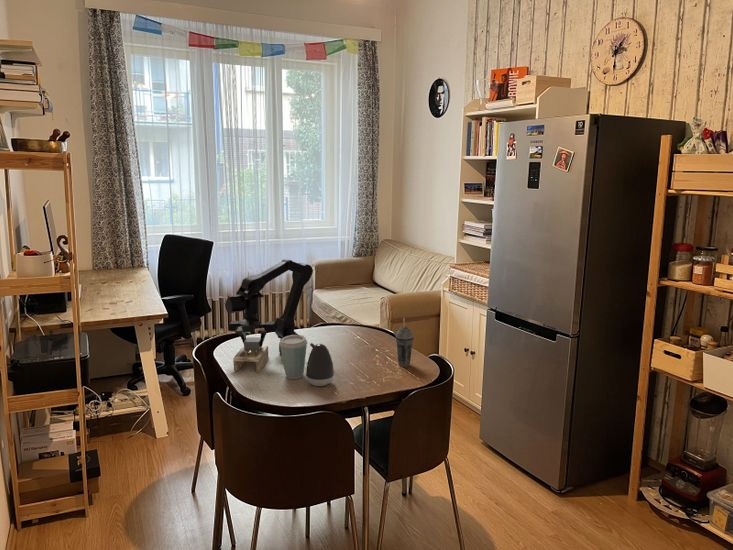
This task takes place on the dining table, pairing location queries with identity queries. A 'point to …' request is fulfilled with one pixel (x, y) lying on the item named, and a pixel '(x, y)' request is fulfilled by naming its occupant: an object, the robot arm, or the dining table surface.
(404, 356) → the beverage cup
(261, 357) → the keyhole board
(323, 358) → the pump dispenser
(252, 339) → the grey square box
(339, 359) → the dining table surface
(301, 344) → the disposable coffee cup
